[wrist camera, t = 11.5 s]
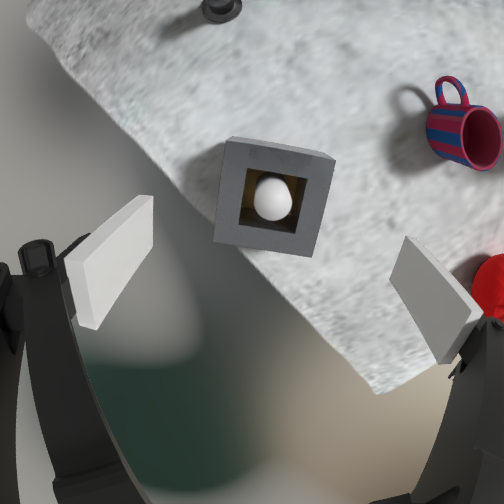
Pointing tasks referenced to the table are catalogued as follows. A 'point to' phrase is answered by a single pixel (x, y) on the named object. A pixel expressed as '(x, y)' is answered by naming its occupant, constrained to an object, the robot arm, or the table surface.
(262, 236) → the grey square bin
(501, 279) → the tomato
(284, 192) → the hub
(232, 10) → the dark grey round-topped piece
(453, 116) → the mug
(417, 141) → the table surface
